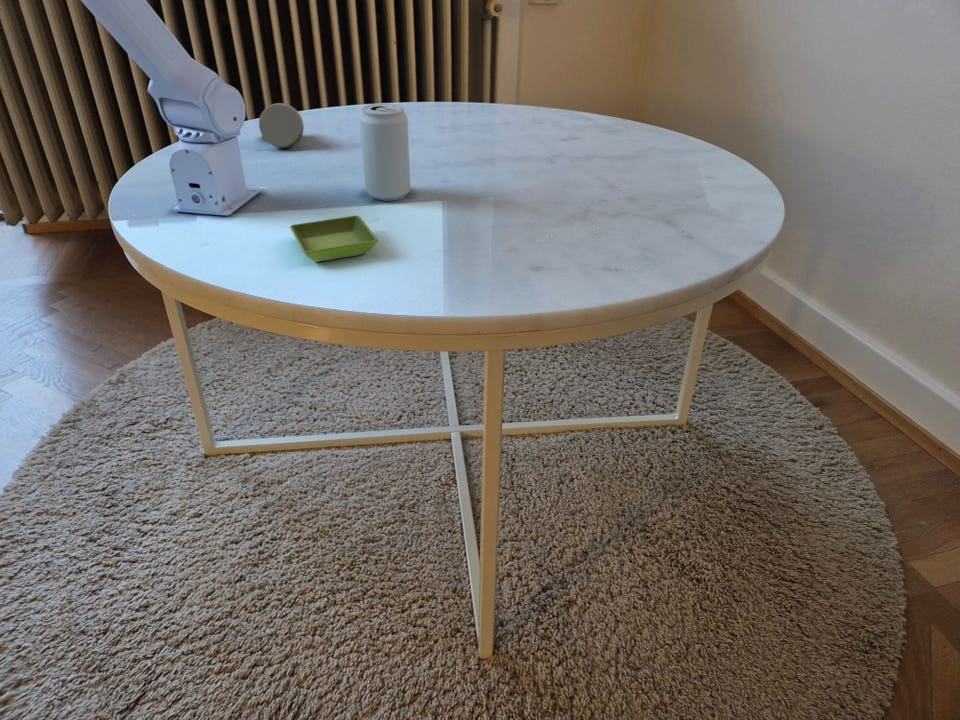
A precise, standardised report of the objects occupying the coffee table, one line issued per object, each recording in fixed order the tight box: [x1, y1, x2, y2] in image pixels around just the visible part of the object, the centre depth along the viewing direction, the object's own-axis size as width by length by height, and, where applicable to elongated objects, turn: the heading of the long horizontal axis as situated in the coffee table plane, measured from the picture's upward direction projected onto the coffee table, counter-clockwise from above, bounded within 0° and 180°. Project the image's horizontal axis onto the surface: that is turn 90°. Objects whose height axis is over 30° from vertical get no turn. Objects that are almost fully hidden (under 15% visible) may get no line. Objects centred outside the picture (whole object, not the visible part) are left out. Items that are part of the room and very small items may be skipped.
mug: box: [258, 102, 304, 149], centre depth 115 cm, size 8×10×10 cm
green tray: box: [289, 215, 378, 263], centre depth 81 cm, size 9×9×2 cm
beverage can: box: [359, 102, 411, 202], centre depth 93 cm, size 6×6×12 cm
